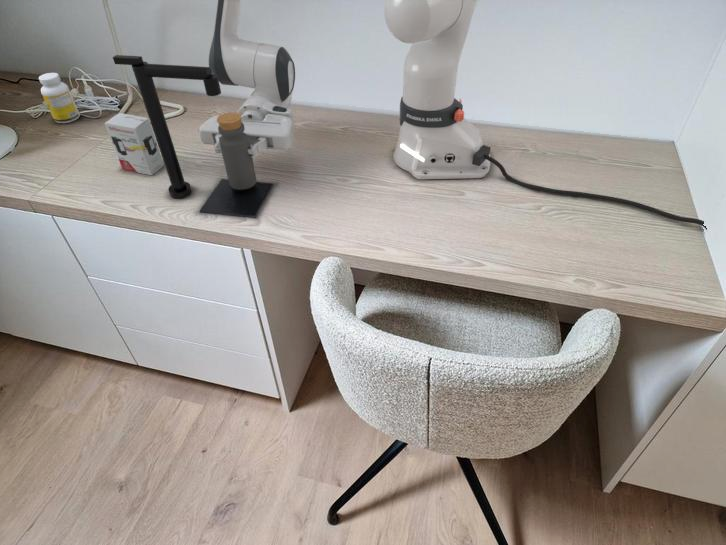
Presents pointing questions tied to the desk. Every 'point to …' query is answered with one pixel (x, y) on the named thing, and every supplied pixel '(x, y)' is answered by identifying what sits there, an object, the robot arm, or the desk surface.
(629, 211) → the desk surface
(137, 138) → the ink box
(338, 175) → the desk surface
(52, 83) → the pill bottle
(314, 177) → the desk surface
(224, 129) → the bottle
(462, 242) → the desk surface
